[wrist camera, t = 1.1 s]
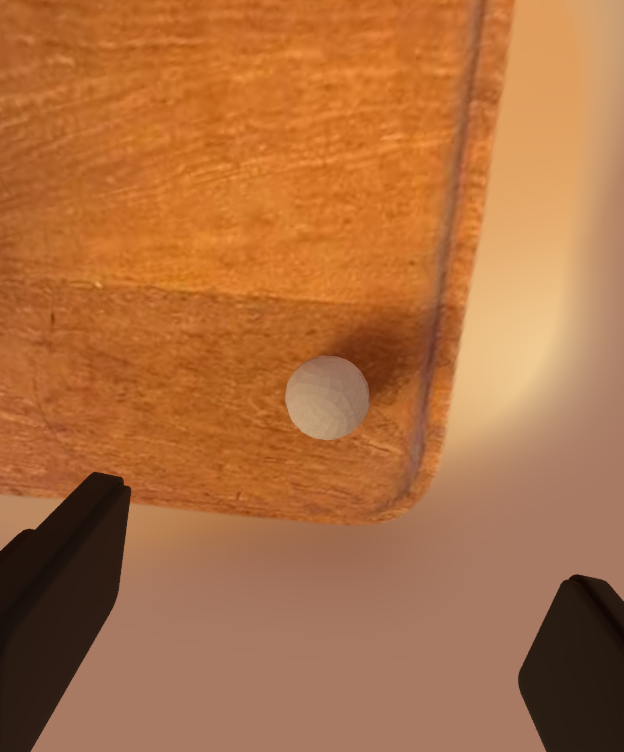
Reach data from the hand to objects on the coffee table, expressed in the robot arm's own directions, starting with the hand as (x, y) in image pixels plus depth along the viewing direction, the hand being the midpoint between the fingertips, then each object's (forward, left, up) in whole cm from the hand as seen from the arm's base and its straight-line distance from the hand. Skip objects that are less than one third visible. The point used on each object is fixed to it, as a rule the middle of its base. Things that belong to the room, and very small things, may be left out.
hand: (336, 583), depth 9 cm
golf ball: (0, 0, -15) cm, 15 cm away
